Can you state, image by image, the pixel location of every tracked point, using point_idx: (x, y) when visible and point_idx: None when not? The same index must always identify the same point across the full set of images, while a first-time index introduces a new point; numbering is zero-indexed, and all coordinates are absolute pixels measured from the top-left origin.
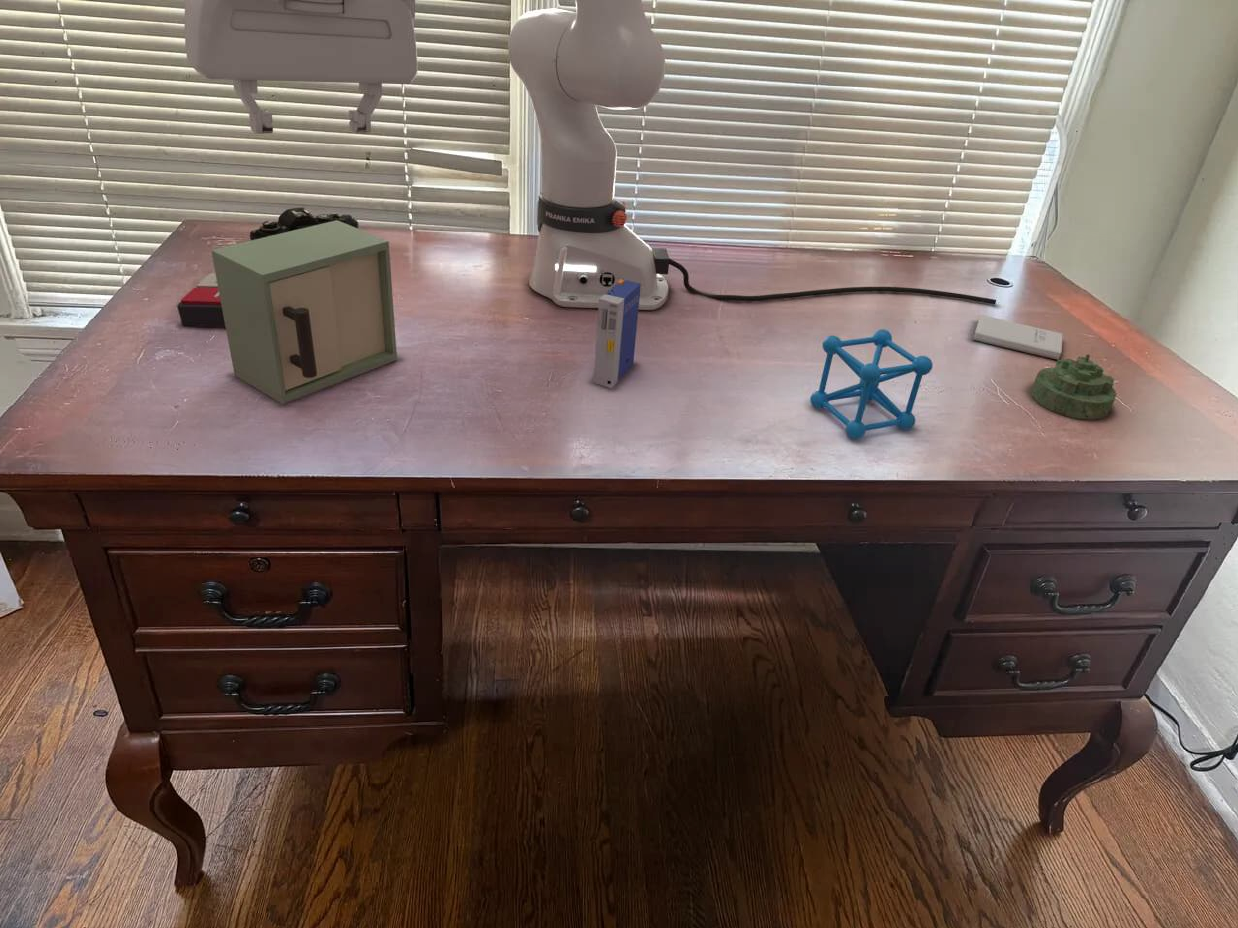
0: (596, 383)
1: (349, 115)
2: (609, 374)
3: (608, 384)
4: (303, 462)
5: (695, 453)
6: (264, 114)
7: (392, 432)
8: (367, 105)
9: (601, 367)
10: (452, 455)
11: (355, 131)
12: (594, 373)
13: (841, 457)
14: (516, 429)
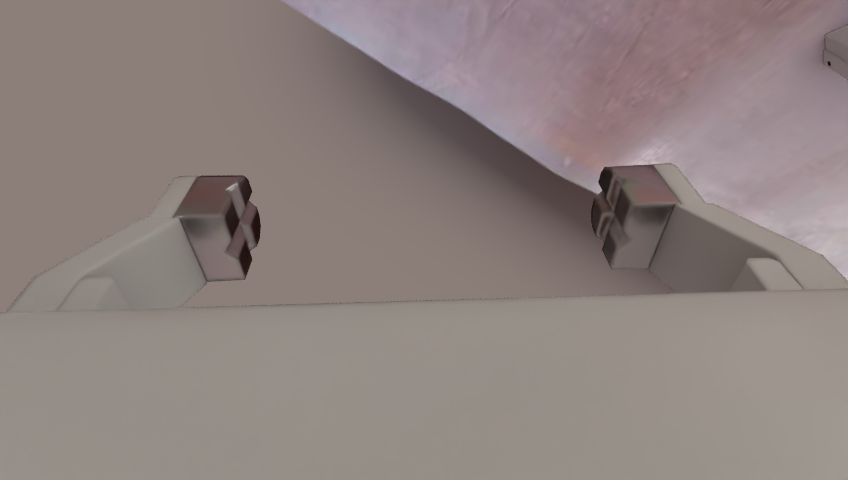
0: (825, 39)
1: (625, 195)
2: (837, 69)
3: (826, 62)
4: (355, 18)
5: None
6: (214, 278)
7: (486, 8)
8: (687, 285)
9: (844, 56)
10: (518, 100)
11: (594, 210)
12: (835, 40)
13: None
14: (623, 89)
